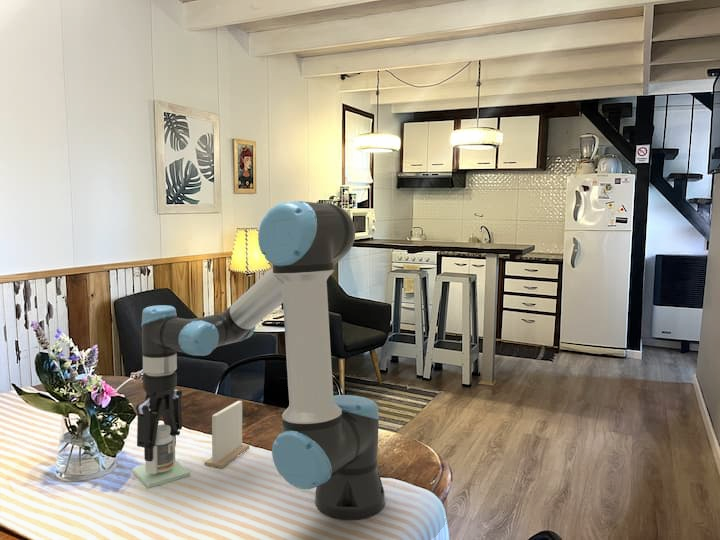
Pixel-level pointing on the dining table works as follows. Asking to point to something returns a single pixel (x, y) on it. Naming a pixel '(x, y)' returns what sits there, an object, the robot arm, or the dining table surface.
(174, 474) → the coaster
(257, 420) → the dining table surface
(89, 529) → the dining table surface
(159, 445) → the pill bottle
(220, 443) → the screen
